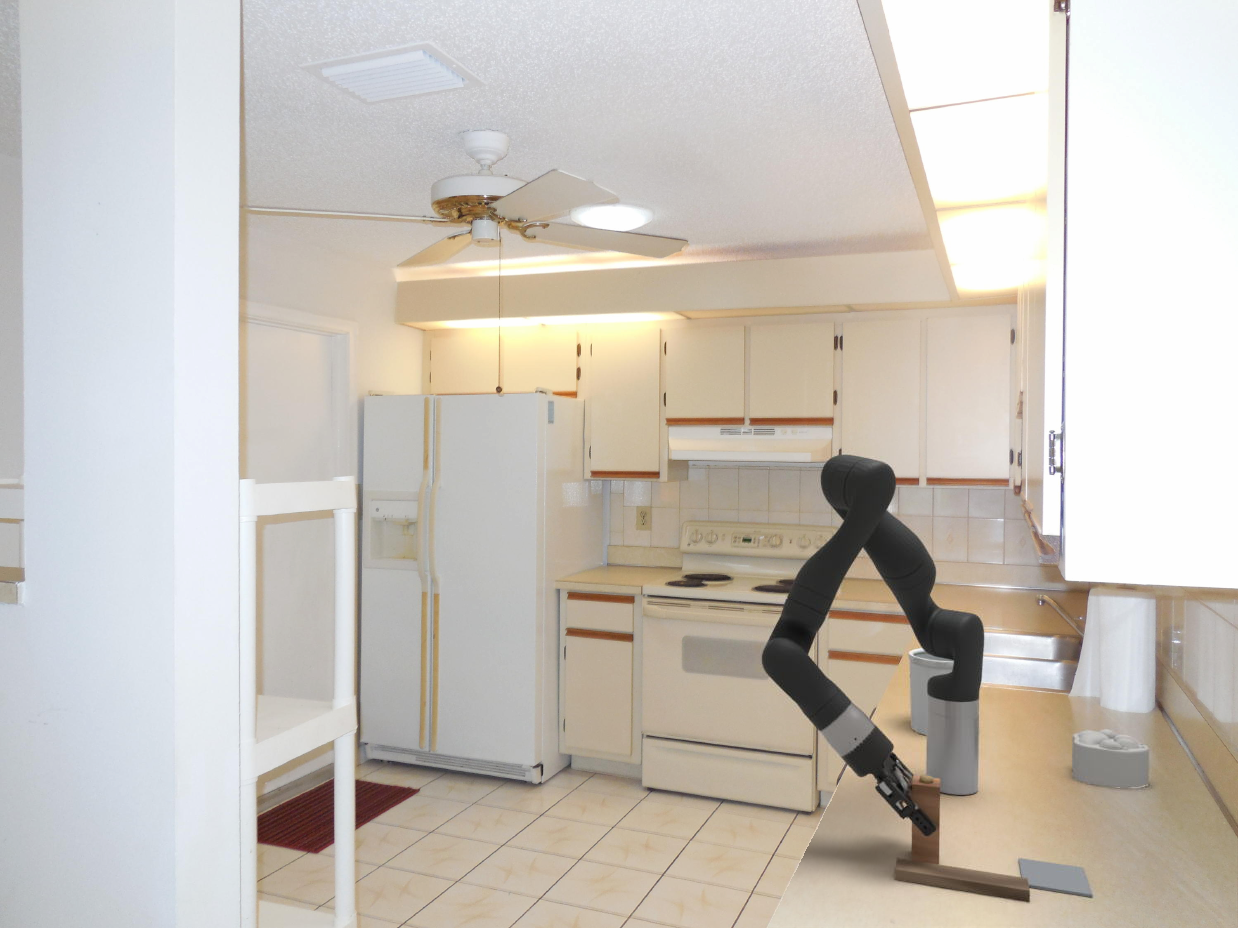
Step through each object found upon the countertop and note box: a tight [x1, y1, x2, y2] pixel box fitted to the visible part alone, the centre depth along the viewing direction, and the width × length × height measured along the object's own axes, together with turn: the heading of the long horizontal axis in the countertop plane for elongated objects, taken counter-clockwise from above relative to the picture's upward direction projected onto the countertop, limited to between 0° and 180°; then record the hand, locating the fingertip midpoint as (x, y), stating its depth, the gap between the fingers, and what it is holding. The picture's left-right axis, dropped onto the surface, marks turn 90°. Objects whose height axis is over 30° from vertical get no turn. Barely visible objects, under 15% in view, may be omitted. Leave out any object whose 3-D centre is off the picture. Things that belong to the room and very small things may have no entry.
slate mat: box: [1017, 857, 1094, 898], centre depth 133 cm, size 9×9×1 cm
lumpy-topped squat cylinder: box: [1071, 728, 1150, 788], centre depth 174 cm, size 10×13×9 cm
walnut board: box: [894, 857, 1031, 902], centre depth 130 cm, size 4×18×2 cm, turn 70°
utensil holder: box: [908, 647, 954, 736], centre depth 205 cm, size 15×15×18 cm
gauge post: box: [910, 774, 941, 865], centre depth 139 cm, size 4×4×13 cm
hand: (932, 822), depth 138 cm, fingers open, 7 cm apart
